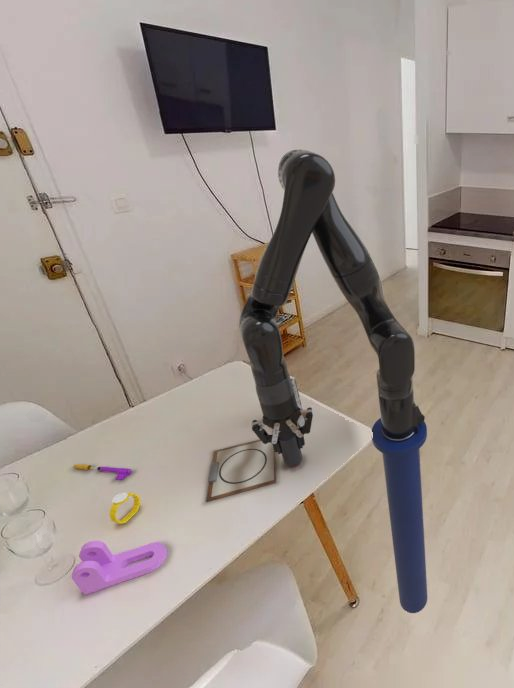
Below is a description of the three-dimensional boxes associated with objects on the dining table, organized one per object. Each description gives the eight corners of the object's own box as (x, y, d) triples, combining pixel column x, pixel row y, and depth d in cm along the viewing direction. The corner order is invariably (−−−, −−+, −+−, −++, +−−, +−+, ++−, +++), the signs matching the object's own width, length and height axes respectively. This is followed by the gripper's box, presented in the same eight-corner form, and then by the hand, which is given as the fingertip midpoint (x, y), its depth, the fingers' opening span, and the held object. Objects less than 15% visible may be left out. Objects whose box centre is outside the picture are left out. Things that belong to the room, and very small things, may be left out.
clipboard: (275, 437, 109) (274, 433, 109) (276, 482, 96) (275, 479, 96) (214, 452, 105) (212, 448, 104) (206, 502, 92) (205, 498, 91)
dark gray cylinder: (302, 453, 104) (295, 425, 99) (304, 466, 100) (296, 438, 96) (284, 458, 103) (276, 430, 98) (285, 471, 99) (277, 443, 94)
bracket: (84, 595, 75) (67, 573, 72) (93, 567, 79) (77, 545, 76) (164, 567, 79) (151, 545, 76) (169, 542, 84) (156, 520, 80)
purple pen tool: (133, 470, 100) (77, 465, 102) (130, 468, 99) (73, 462, 101) (126, 480, 98) (68, 475, 100) (123, 478, 97) (65, 472, 99)
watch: (124, 529, 86) (112, 511, 83) (113, 527, 87) (101, 509, 84) (146, 505, 92) (136, 487, 89) (136, 503, 92) (125, 485, 89)
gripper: (240, 411, 86) (259, 468, 94) (310, 395, 90) (322, 451, 98) (242, 390, 92) (259, 445, 100) (307, 377, 96) (318, 431, 104)
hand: (290, 448), depth 99 cm, fingers closed on dark gray cylinder, 4 cm apart
